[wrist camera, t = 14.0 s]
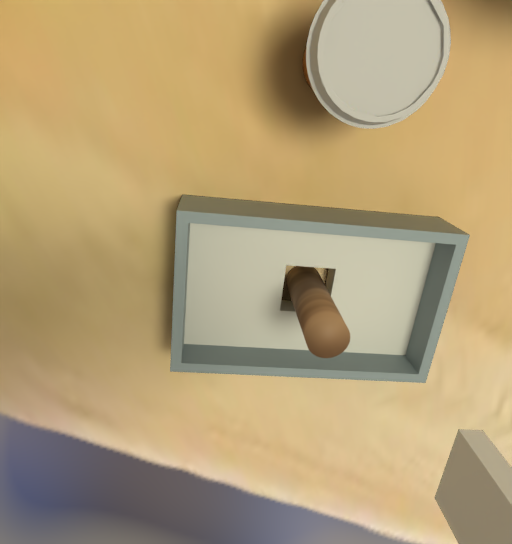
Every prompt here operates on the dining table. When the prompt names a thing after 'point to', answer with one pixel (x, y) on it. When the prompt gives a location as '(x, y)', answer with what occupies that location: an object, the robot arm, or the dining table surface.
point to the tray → (340, 284)
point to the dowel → (317, 313)
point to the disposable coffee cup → (376, 58)
